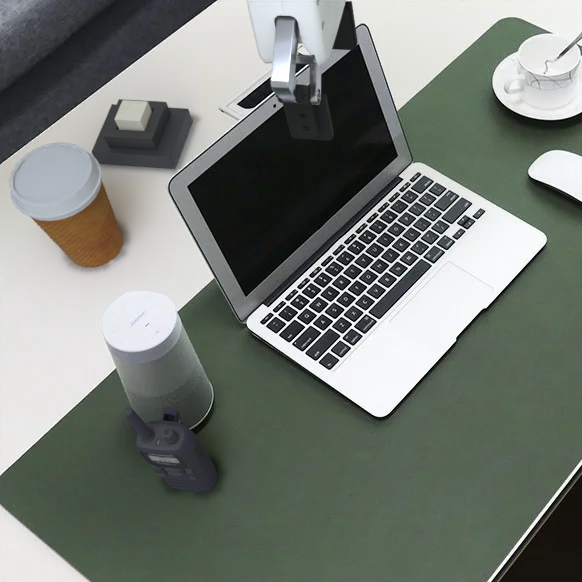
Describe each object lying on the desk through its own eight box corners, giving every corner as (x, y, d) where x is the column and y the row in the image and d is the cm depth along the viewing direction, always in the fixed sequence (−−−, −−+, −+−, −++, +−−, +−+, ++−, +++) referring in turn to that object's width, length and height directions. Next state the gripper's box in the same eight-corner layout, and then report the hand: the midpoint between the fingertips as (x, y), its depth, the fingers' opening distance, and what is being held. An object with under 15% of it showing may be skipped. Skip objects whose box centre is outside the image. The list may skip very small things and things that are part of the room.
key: (119, 130, 99) (114, 119, 98) (127, 111, 101) (122, 99, 99) (145, 132, 99) (139, 120, 97) (152, 112, 100) (147, 101, 99)
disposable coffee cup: (131, 278, 93) (88, 206, 83) (48, 282, 94) (-5, 211, 83) (142, 212, 98) (103, 135, 87) (63, 216, 98) (15, 141, 88)
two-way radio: (162, 490, 81) (102, 422, 68) (174, 449, 83) (118, 375, 70) (217, 496, 80) (166, 429, 67) (227, 454, 82) (181, 381, 69)
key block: (98, 165, 102) (84, 141, 98) (118, 117, 106) (106, 92, 102) (175, 170, 101) (165, 146, 97) (193, 121, 104) (183, 96, 101)
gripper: (254, -218, 54) (302, 13, 69) (181, -47, 46) (252, 171, 61) (368, -218, 53) (391, 17, 68) (312, -43, 45) (352, 178, 60)
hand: (325, 90), depth 65 cm, fingers open, 9 cm apart
